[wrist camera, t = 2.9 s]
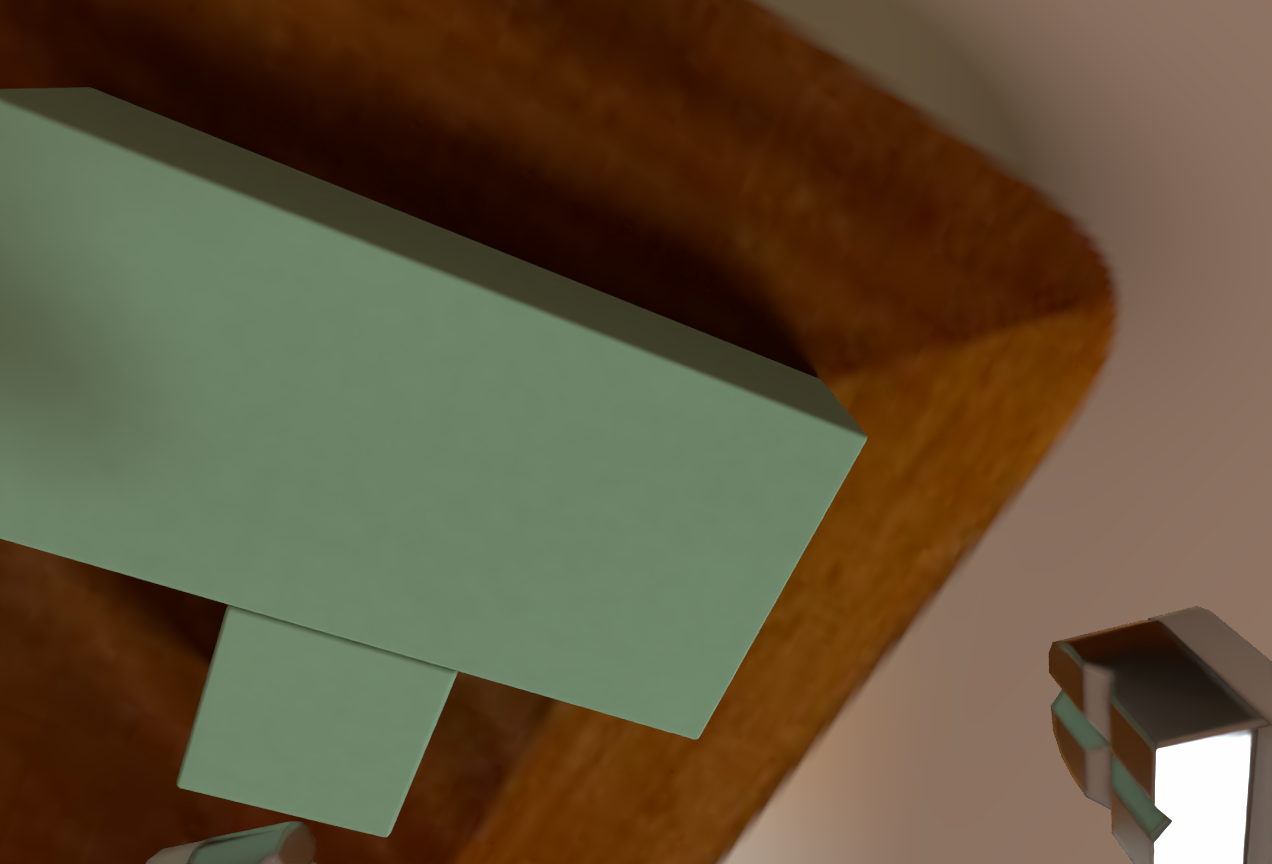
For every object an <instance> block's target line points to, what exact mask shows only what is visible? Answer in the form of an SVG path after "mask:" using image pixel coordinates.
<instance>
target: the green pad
mask: <svg viewBox="0 0 1272 864" xmlns="http://www.w3.org/2000/svg"><path fill="white" fill-rule="evenodd" d="M866 439H867V435H866V434H865V433H864V431H863V430H862V429H861V428H860V426H859V425H858V424H857V423H856V422H855V420H854V419H853V418H852V417H851V415H850V414H849V413H848V412H847V410H846V409H845V408H844V407H843V405H842V404H841V403H840V402H839V400H838V399H837V398H836V397H835V396H834V394H833V393H832V392H831V391H830V389H829V388H828V387H827V386H826V384H825V383H824V382H823V381H822V380H821V379H818V378H816V377H813V376H811V375H808V374H806V373H803V372H801V371H798V370H796V369H793V368H791V367H788V366H786V365H783V364H781V363H778V362H776V361H773V360H771V359H768V358H766V357H763V356H761V355H758V354H756V353H753V352H751V351H748V350H746V349H743V348H741V347H738V346H736V345H733V344H731V343H728V342H726V341H723V340H721V339H718V338H716V337H713V336H711V335H708V334H706V333H703V332H701V331H698V330H696V329H693V328H691V327H688V326H686V325H683V324H681V323H678V322H676V321H673V320H671V319H668V318H666V317H663V316H661V315H658V314H656V313H653V312H651V311H648V310H646V309H643V308H641V307H638V306H636V305H633V304H631V303H628V302H626V301H623V300H621V299H618V298H616V297H613V296H611V295H608V294H606V293H603V292H601V291H598V290H596V289H593V288H591V287H588V286H586V285H583V284H581V283H578V282H576V281H573V280H571V279H569V278H566V277H564V276H561V275H559V274H556V273H554V272H551V271H549V270H546V269H544V268H541V267H539V266H536V265H534V264H531V263H529V262H526V261H524V260H521V259H519V258H516V257H514V256H511V255H509V254H506V253H504V252H501V251H499V250H496V249H494V248H491V247H489V246H486V245H484V244H481V243H479V242H476V241H474V240H471V239H469V238H466V237H464V236H461V235H459V234H456V233H454V232H451V231H449V230H446V229H444V228H441V227H439V226H436V225H434V224H431V223H429V222H426V221H424V220H421V219H419V218H416V217H414V216H411V215H409V214H406V213H404V212H401V211H399V210H396V209H394V208H391V207H389V206H386V205H384V204H381V203H379V202H376V201H374V200H371V199H369V198H366V197H364V196H361V195H359V194H356V193H354V192H351V191H349V190H346V189H344V188H341V187H339V186H336V185H334V184H331V183H329V182H326V181H324V180H321V179H319V178H316V177H314V176H311V175H309V174H306V173H304V172H301V171H299V170H296V169H294V168H291V167H289V166H286V165H284V164H281V163H279V162H276V161H274V160H271V159H269V158H266V157H264V156H261V155H259V154H256V153H254V152H251V151H249V150H246V149H244V148H241V147H239V146H236V145H234V144H231V143H229V142H226V141H224V140H221V139H219V138H216V137H214V136H211V135H209V134H206V133H204V132H201V131H199V130H196V129H194V128H191V127H189V126H186V125H184V124H181V123H179V122H176V121H174V120H171V119H169V118H166V117H164V116H161V115H159V114H156V113H154V112H151V111H149V110H146V109H144V108H141V107H139V106H136V105H134V104H131V103H129V102H126V101H124V100H121V99H119V98H116V97H114V96H111V95H109V94H106V93H104V92H101V91H99V90H96V89H94V88H91V87H78V88H27V89H0V538H1V539H4V540H8V541H11V542H15V543H18V544H22V545H25V546H28V547H32V548H35V549H39V550H42V551H46V552H49V553H53V554H56V555H60V556H63V557H66V558H70V559H73V560H77V561H80V562H84V563H87V564H91V565H94V566H98V567H101V568H104V569H108V570H111V571H115V572H118V573H122V574H125V575H129V576H132V577H136V578H139V579H142V580H146V581H149V582H153V583H156V584H160V585H163V586H167V587H170V588H174V589H177V590H181V591H184V592H187V593H191V594H194V595H198V596H201V597H205V598H208V599H212V600H215V601H219V602H222V603H225V604H228V606H227V608H226V611H225V615H224V618H223V622H222V625H221V629H220V632H219V636H218V639H217V643H216V646H215V649H214V653H213V656H212V660H211V663H210V667H209V670H208V674H207V677H206V681H205V684H204V688H203V691H202V695H201V698H200V702H199V705H198V709H197V712H196V716H195V719H194V723H193V726H192V729H191V733H190V736H189V740H188V743H187V747H186V750H185V754H184V757H183V761H182V764H181V768H180V771H179V775H178V778H177V786H178V787H179V788H183V789H187V790H191V791H195V792H200V793H204V794H208V795H212V796H216V797H220V798H224V799H228V800H233V801H237V802H241V803H245V804H249V805H253V806H257V807H261V808H265V809H270V810H274V811H278V812H282V813H286V814H290V815H294V816H298V817H303V818H307V819H311V820H315V821H319V822H323V823H327V824H331V825H336V826H340V827H344V828H348V829H352V830H356V831H360V832H364V833H369V834H373V835H377V836H381V837H388V836H389V834H390V833H391V831H392V829H393V826H394V824H395V821H396V819H397V817H398V814H399V812H400V809H401V807H402V805H403V802H404V800H405V797H406V795H407V793H408V790H409V788H410V785H411V783H412V781H413V778H414V776H415V773H416V771H417V769H418V766H419V764H420V761H421V759H422V757H423V754H424V752H425V749H426V747H427V745H428V742H429V740H430V738H431V735H432V733H433V730H434V728H435V726H436V723H437V721H438V718H439V716H440V714H441V711H442V709H443V706H444V704H445V702H446V699H447V697H448V694H449V692H450V690H451V687H452V685H453V682H454V680H455V678H456V675H457V672H458V671H460V672H464V673H467V674H471V675H474V676H478V677H481V678H485V679H488V680H491V681H495V682H498V683H502V684H505V685H509V686H512V687H516V688H519V689H523V690H526V691H529V692H533V693H536V694H540V695H543V696H547V697H550V698H554V699H557V700H561V701H564V702H567V703H571V704H574V705H578V706H581V707H585V708H588V709H592V710H595V711H599V712H602V713H605V714H609V715H612V716H616V717H619V718H623V719H626V720H630V721H633V722H637V723H640V724H643V725H647V726H650V727H654V728H657V729H661V730H664V731H668V732H671V733H675V734H678V735H681V736H685V737H688V738H692V739H698V738H699V737H700V735H701V733H702V732H703V730H704V728H705V726H706V725H707V723H708V721H709V719H710V717H711V716H712V714H713V712H714V710H715V709H716V707H717V705H718V703H719V701H720V700H721V698H722V696H723V694H724V693H725V691H726V689H727V687H728V685H729V684H730V682H731V680H732V678H733V677H734V675H735V673H736V671H737V669H738V668H739V666H740V664H741V662H742V661H743V659H744V657H745V655H746V653H747V652H748V650H749V648H750V646H751V645H752V643H753V641H754V639H755V637H756V636H757V634H758V632H759V630H760V629H761V627H762V625H763V623H764V621H765V620H766V618H767V616H768V614H769V613H770V611H771V609H772V607H773V605H774V604H775V602H776V600H777V598H778V597H779V595H780V593H781V591H782V589H783V588H784V586H785V584H786V582H787V581H788V579H789V577H790V575H791V573H792V572H793V570H794V568H795V566H796V565H797V563H798V561H799V559H800V557H801V556H802V554H803V552H804V550H805V549H806V547H807V545H808V543H809V541H810V540H811V538H812V536H813V534H814V533H815V531H816V529H817V527H818V525H819V524H820V522H821V520H822V518H823V517H824V515H825V513H826V511H827V509H828V508H829V506H830V504H831V502H832V501H833V499H834V497H835V495H836V493H837V492H838V490H839V488H840V486H841V485H842V483H843V481H844V479H845V477H846V476H847V474H848V472H849V470H850V469H851V467H852V465H853V463H854V461H855V460H856V458H857V456H858V454H859V453H860V451H861V449H862V447H863V445H864V444H865V442H866Z"/></svg>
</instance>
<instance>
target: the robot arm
mask: <svg viewBox="0 0 1272 864" xmlns="http://www.w3.org/2000/svg"><path fill="white" fill-rule="evenodd" d="M1049 673H1050V674H1051V675H1052V677H1053V678H1054V679H1055V681H1056V682H1057V683H1058V685H1059V686H1060V687H1061V688H1062V690H1061V692H1060V693H1059V695H1058V696H1057V698H1056V699H1055V701H1054V702H1053V703H1052V705H1051V711H1052V723H1053V732H1054V735H1055V738H1056V741H1057V744H1058V747H1059V750H1060V753H1061V756H1062V758H1063V760H1064V762H1065V764H1066V766H1067V768H1068V769H1069V772H1070V774H1071V775H1072V777H1073V779H1074V780H1075V782H1076V783H1077V784H1078V786H1079V787H1080V789H1081V790H1082V792H1083V793H1084V795H1085V796H1086V797H1087V798H1089V799H1091V800H1093V801H1095V802H1097V803H1099V804H1101V805H1103V806H1104V807H1106V808H1108V809H1110V810H1111V815H1112V834H1113V836H1114V837H1115V839H1116V840H1117V841H1118V843H1119V844H1120V845H1121V847H1122V848H1123V849H1124V851H1125V852H1126V854H1127V855H1128V857H1129V858H1130V859H1131V861H1132V862H1133V864H1272V661H1270V660H1269V659H1268V658H1267V657H1265V656H1264V655H1263V654H1262V653H1261V652H1260V651H1258V650H1257V649H1256V648H1255V647H1253V646H1252V645H1251V644H1250V643H1249V642H1247V641H1246V640H1245V639H1244V638H1243V637H1241V636H1240V635H1239V634H1238V633H1236V632H1235V631H1234V630H1233V629H1232V628H1231V627H1229V626H1228V625H1227V624H1226V623H1225V622H1223V621H1222V620H1221V619H1219V618H1218V617H1217V616H1216V615H1215V614H1214V613H1212V612H1211V611H1210V610H1207V609H1204V608H1201V607H1198V606H1196V607H1192V608H1188V609H1184V610H1180V611H1176V612H1172V613H1168V614H1164V615H1160V616H1156V617H1153V618H1149V619H1148V620H1144V621H1143V620H1142V621H1138V622H1134V623H1129V624H1125V625H1121V626H1117V627H1113V628H1109V629H1105V630H1101V631H1097V632H1093V633H1088V634H1084V635H1080V636H1076V637H1072V638H1068V639H1064V640H1060V641H1056V642H1053V643H1052V646H1051V648H1050V651H1049ZM317 845H318V843H317V842H316V840H315V838H314V837H313V835H312V833H311V832H310V830H309V829H308V827H307V825H306V824H305V822H296V821H291V822H286V823H281V824H276V825H271V826H267V827H262V828H257V829H252V830H247V831H243V832H238V833H233V834H228V835H223V836H219V837H214V838H209V839H206V840H205V841H201V842H196V843H191V844H186V845H181V846H176V847H171V848H166V849H162V850H160V851H159V852H158V853H157V854H155V855H154V856H153V857H152V858H150V859H149V860H148V861H147V863H146V864H316V863H314V862H313V861H312V860H313V857H314V854H315V851H316V848H317Z"/></svg>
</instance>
